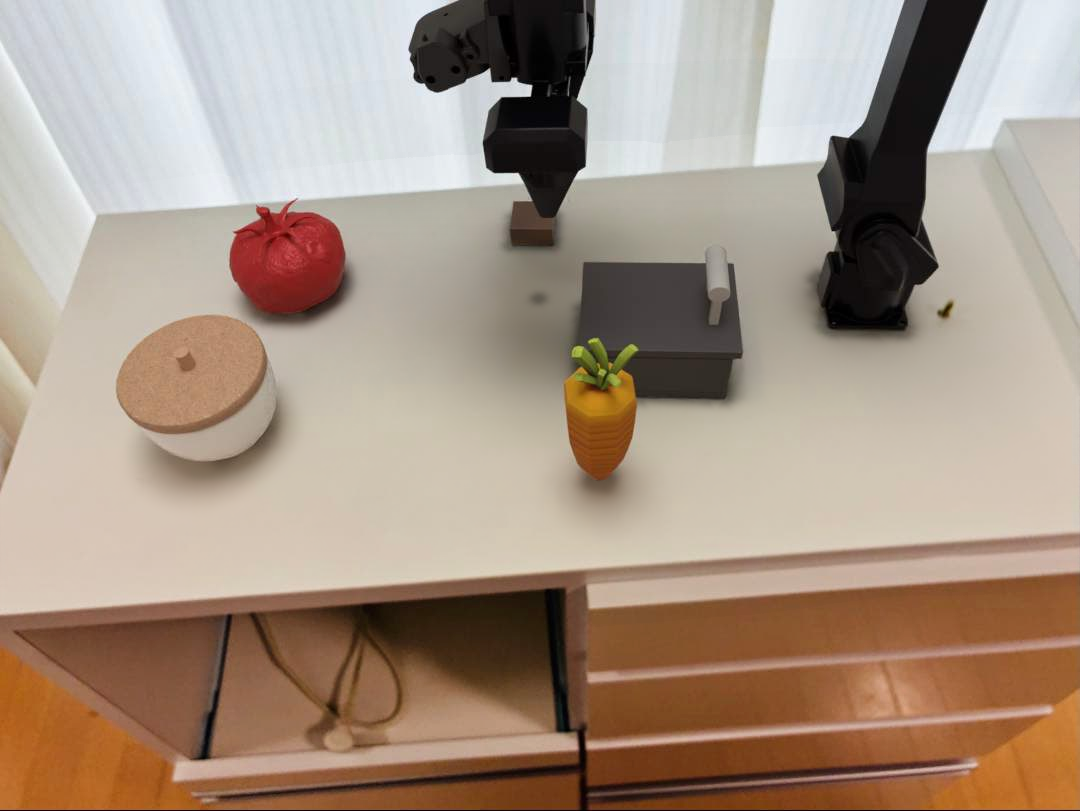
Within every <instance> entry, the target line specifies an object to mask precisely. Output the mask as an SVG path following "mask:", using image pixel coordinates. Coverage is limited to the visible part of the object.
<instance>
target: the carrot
mask: <svg viewBox="0 0 1080 811" xmlns="http://www.w3.org/2000/svg"><path fill="white" fill-rule="evenodd" d="M588 344H589V345H590V347H591V349H592V351H593V352H594V354H595V356H596V357H597V359H598V362H599V363H598V364H597V363H596V361H595V359H594V358H593V357H592V355H591V354H590V353H589V352H588V351H587V350H586V349H585V348H584V347H581V346H579V345H577V346H574V347H573V349H572V351H571V358H572V360H574V362H575V363H577V364H578V366H579V365H581V367H580V368H579V367H578V369H576V371H575V372H574V373H573V374H572V375H570V376H569V377H568V378H567V379H566V380H565V382H564V384H563V394H564V405H565V416H566V426H567V433H568V441H569V445H570V449H571V451H572V454H573V456H574V458H575V461H576V464H577V465H578V466H579V467H580V469H582V472H584V473H586V474H587V475H588V476H590V477H591V478H592V479H594V480H595V481H604V480H605V479H607V478H609V477H610V476H611V474H612V473H613V472H614V471H615V470H617V468H618V467H619V466H620V464H622V462H623V461H624V459H625V457H626V455H627V453H628V450H629V449H630V445H631V444H632V440H633V436H634V431H635V430H634V429H635V424H636V417H637V409H638V408H637V406H638V403H637V402H638V401H637V397H636V395H635V389H634V383H633V378H632V376H631V375H630V374H628V373H626V372H625V371H623V370H621V369H622V368H623V367H624V366H625V364H626V363H627V362H628V361H629V360H630V358H631V357H632V356H633V355H634V354H635V353H636V352H637V351H638V350H639V349H638V348H637V347H636V346H635V345H633V344H631V345H629V346H628V347H626V348H625V349H624V350H623V351H622V352H621V353H620V354H619V355H618V357H617V359H616V360H615V362H614V364H612V363H608V358H607V353H606V351H605V349H604V347H603V345H602V343H601V341H600V340H599V338H593V339H591V340H589V341H588Z"/></svg>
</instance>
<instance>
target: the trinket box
mask: <svg viewBox="0 0 1080 811" xmlns="http://www.w3.org/2000/svg"><path fill="white" fill-rule="evenodd" d="M115 392H116V393H115V394H116V398H117V401H118V404H119V405H120V407H121V409H122V410H123V412H124V414H126V416H127V417H128V418H129V419H130V420H131V421H132V422H134V423H135V424H136V426H137V427H138V428H139V429H140V431H141V432H142V433H143V434H144V435H145V436H146V437H147V438H148V439H150V441H152V442H153V443H154V444H155V445H156V446H158V447H159V448H161V449H162V450H163V451H165V452H167V453H169V454H170V455H173V456H176V457H177V458H181V459H185V460H188V461H194V462H214V461H215V462H216V461H222V460H228V459H232V458H235V457H237V456H240V455H242V454H243V453H244V452H247V451H248V450H249V449H251V448H252V447H253V446H254V445H255V444H256V443H257V442H258V440H260V438H261V437H262V436H263V434H264V433H265V432H266V430H267V429H268V428H269V426H270V423H271V421H272V420H273V417H274V413H275V410H276V404H277V398H278V397H277V396H278V395H277V394H278V393H277V383H276V377H275V375H274V371H273V367H272V364H271V362H270V359H269V357H268V354H267V352H266V347H265V345H264V343H263V341H262V339H261V337H260V336H259V334H258V333H257V331H255V329H254V328H253V327H251V326H250V325H248V324H247V323H246V322H244V321H242V320H240V319H237V318H234V317H230V316H227V315H220V314H202V315H201V314H200V315H194V316H190V317H185V318H181V319H179V320H174V321H173V322H170V323H168V324H166V325H163V326H162V327H159V328H158V329H155V331H153V332H151V333H150V334H148V335H147V336H146V337H144V338H143V339H142V340H141V341H140V342H139V343H138V344H136V345H135V346H134V347H133V349H132V350H131V351H130V352H129V353H128V354H127V356H126V358H125V359H124V360H123V362H122V364H121V366H120V368H119V370H118V374H117V378H116V383H115Z"/></svg>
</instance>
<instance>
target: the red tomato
mask: <svg viewBox="0 0 1080 811" xmlns="http://www.w3.org/2000/svg"><path fill="white" fill-rule="evenodd" d="M298 199H299V197H296V198H294V200H291V201H290V202H288V203H286V204H285V205H284V206H283V208H282V209H281V211H280V212H273V211H271V209H270V208H269V207H267V206H259V205H256V204H255V207H256V208H255V211H256V214H257V215H258V216H259V217H260V218H258V219H256V220H254V221H253V222H250V223H248V224H247V225H245V226H243V227H242V228H240V229H237V230H235V231H233V230H232V233H233V234H235V236H234V238H233V241H232V243H231V245H230V250H229V259H228V262H229V264H228V265H229V266H228V267H229V271H230V273H231V277H232V279H233V281H234V283H236V284H237V286H238V288H239V289H240V291H241V292H242V293H243V295H245V297H246V298H247V299H248V300H249V301H250V303H251V304H252V305H253V306H254V307H255V308H256V309H258V310H260V311H261V312H263V313H266V314H270V315H280V314H293V313H300V312H304V311H306V310H308V309H311V308H312V307H315V306H316V305H319V304H321V303H323V302H325V301H326V300H327V299H329V298H331V297H332V296H333V295H334V294H335V293H336V292H337V291H338V288H339V286H340V284H341V281H342V278H343V274H344V270H345V267H346V250H345V246H344V240H343V237H342V234H341V231H340V229H339V227H338V226H337V225H336V224H335V222H333V221H332V220H331V219H329V218H327V217H325V216H323V215H321V214H319V213H316V212H311V211H301V212H300V211H299V212H297V211H289V208H290V206H292V205H293V204H294V203H295V202H296V201H297V200H298ZM288 211H289V212H288Z"/></svg>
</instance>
